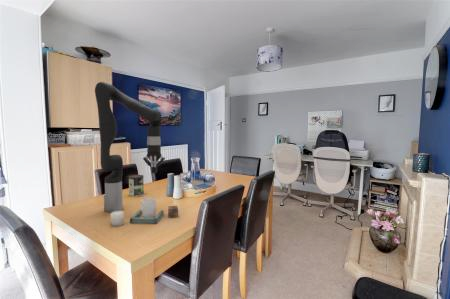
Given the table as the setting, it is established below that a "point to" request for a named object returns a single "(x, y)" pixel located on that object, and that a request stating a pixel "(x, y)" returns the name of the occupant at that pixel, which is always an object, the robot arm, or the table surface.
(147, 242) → the table surface
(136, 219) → the display frame
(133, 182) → the coffee can
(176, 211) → the walnut block
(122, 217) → the white rounded block
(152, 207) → the white cup
